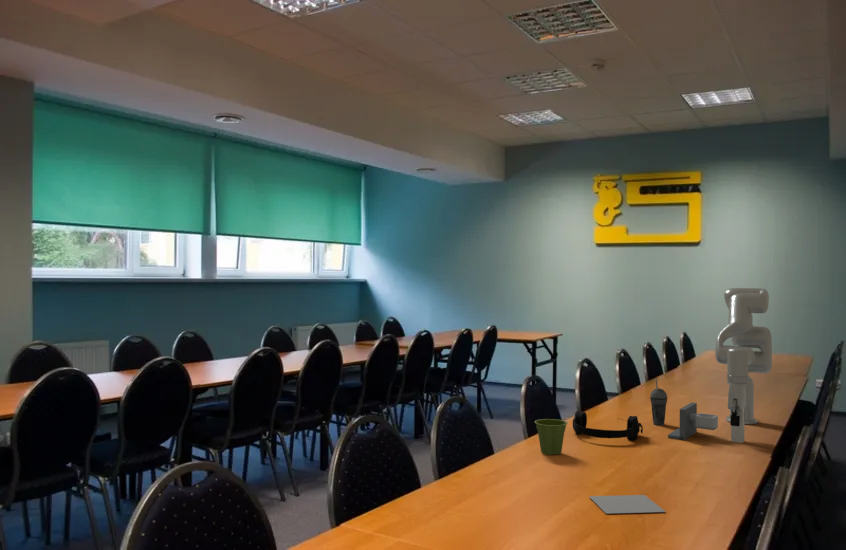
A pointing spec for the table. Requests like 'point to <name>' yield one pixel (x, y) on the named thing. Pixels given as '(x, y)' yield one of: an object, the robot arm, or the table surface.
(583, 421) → the headset
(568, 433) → the table surface
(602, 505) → the grey flat square slab
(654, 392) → the beverage cup
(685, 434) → the bracket
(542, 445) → the plant pot
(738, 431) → the rail
